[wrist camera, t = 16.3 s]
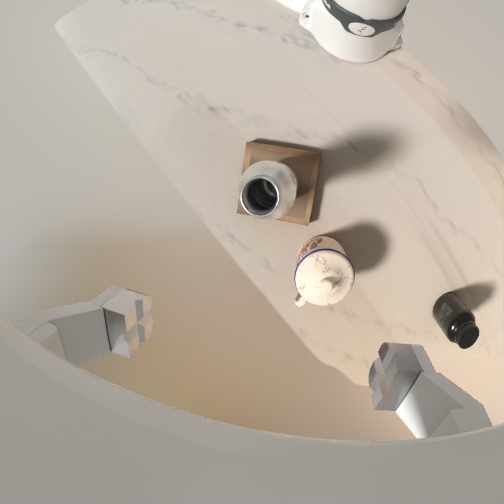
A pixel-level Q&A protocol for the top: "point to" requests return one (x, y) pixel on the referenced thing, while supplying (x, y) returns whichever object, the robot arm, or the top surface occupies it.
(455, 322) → the supplement bottle
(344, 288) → the teacup with lid
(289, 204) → the plastic bottle
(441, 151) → the top surface
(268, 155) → the display stand
